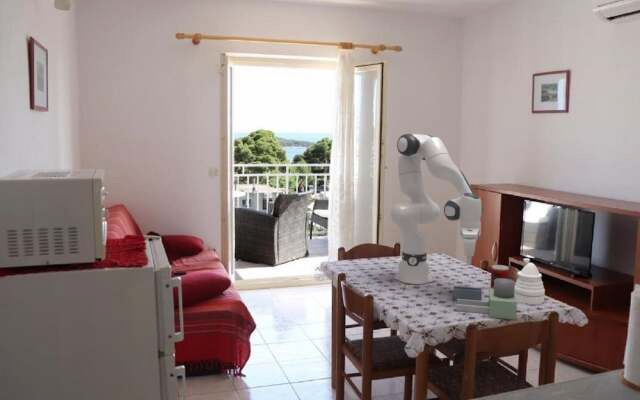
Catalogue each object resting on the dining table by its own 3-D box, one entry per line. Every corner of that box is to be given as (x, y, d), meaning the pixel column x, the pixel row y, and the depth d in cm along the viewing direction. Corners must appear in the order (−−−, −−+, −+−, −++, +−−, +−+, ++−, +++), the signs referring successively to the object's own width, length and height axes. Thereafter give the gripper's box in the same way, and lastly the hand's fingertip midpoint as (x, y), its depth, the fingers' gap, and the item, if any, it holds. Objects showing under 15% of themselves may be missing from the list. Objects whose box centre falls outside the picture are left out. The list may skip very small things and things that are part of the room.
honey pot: (507, 299, 244) (509, 259, 242) (521, 293, 253) (523, 255, 251) (536, 306, 235) (538, 265, 233) (549, 300, 244) (551, 260, 242)
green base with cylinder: (457, 301, 241) (458, 272, 239) (513, 306, 234) (514, 276, 233) (455, 313, 224) (457, 282, 223) (515, 319, 218) (517, 287, 216)
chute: (453, 296, 248) (453, 285, 248) (481, 299, 245) (481, 288, 244) (452, 299, 244) (453, 288, 243) (481, 302, 240) (481, 291, 240)
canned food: (507, 288, 261) (508, 265, 260) (508, 293, 254) (509, 269, 252) (490, 286, 263) (491, 264, 262) (490, 291, 256) (491, 268, 254)
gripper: (463, 226, 251) (462, 256, 253) (462, 234, 232) (461, 267, 233) (477, 227, 249) (476, 257, 251) (477, 235, 230) (476, 268, 231)
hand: (469, 262), depth 242 cm, fingers open, 8 cm apart
